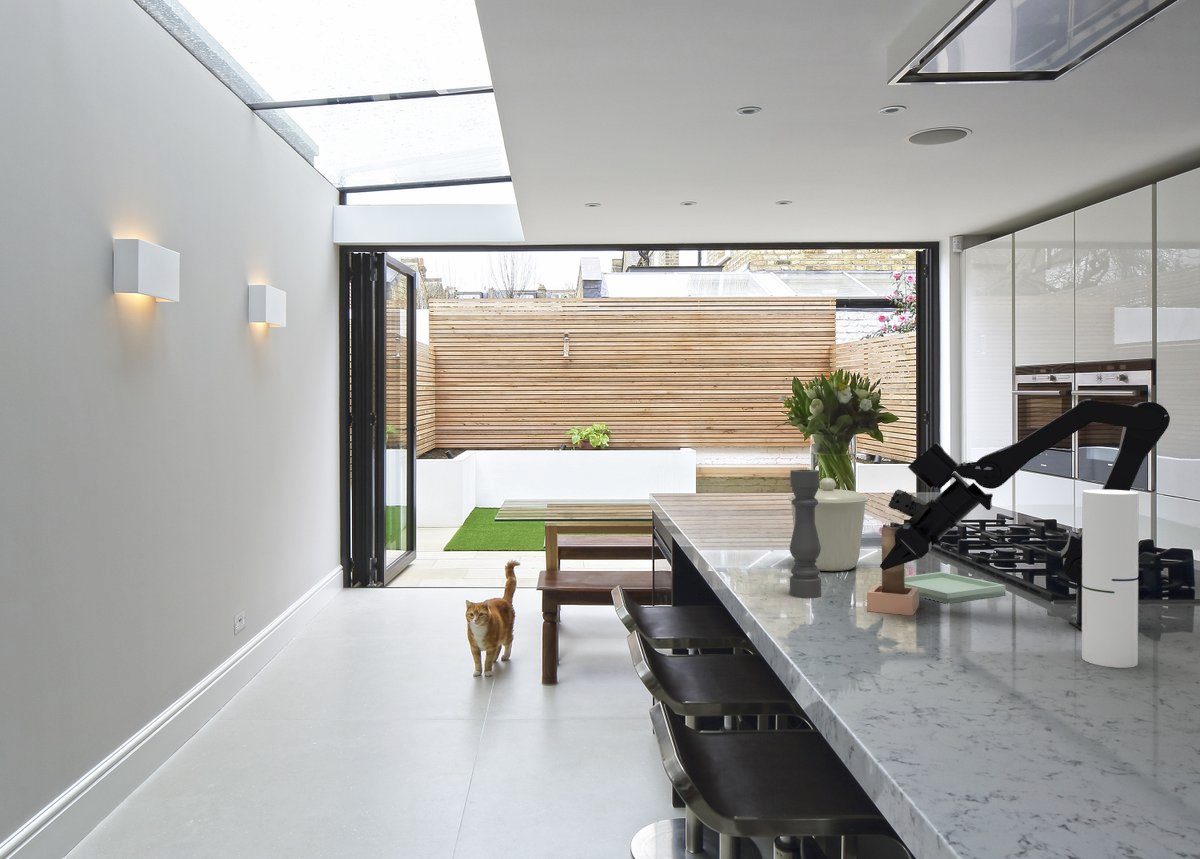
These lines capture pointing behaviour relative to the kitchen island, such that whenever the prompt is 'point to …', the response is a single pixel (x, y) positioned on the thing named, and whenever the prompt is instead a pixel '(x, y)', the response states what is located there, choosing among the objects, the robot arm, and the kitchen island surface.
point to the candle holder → (805, 535)
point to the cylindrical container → (1110, 577)
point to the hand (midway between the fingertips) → (886, 564)
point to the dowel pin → (896, 575)
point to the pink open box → (893, 601)
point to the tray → (953, 587)
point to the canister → (837, 526)
